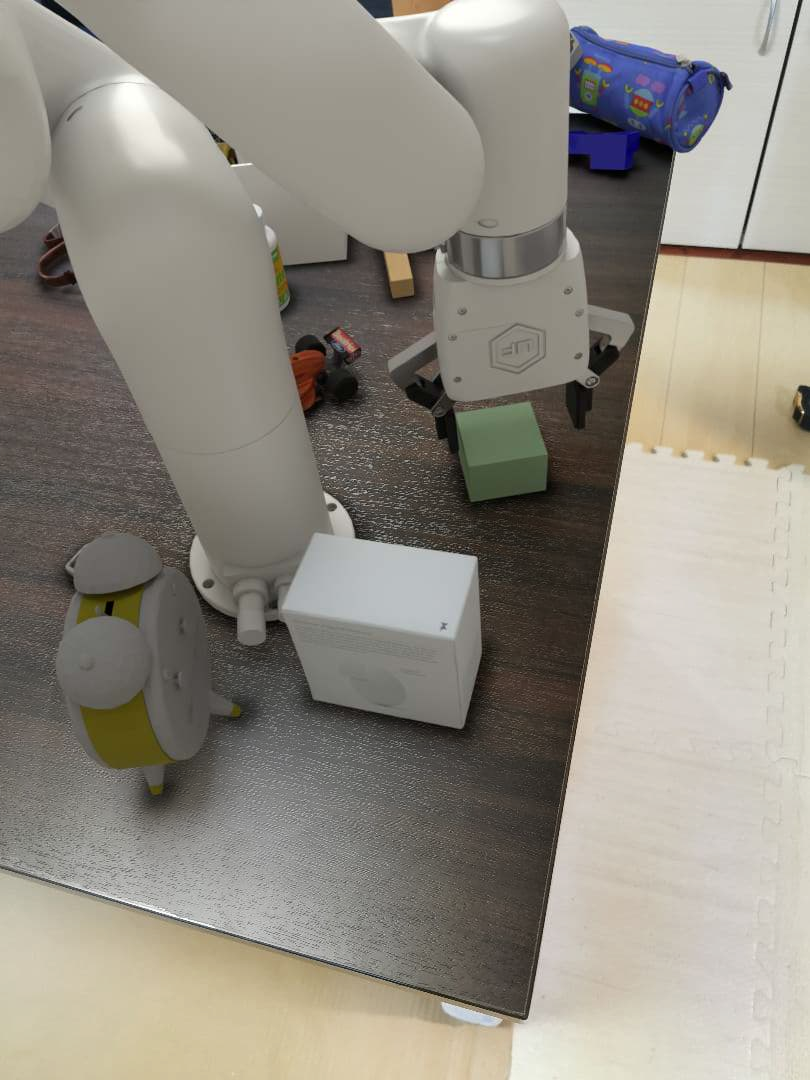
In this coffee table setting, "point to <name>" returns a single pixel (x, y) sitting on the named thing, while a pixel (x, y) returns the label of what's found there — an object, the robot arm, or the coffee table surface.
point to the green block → (501, 451)
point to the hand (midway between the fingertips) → (513, 428)
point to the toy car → (324, 367)
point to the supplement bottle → (276, 262)
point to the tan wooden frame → (399, 274)
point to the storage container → (291, 219)
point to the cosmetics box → (387, 627)
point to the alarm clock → (136, 660)
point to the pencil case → (646, 90)
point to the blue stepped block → (605, 148)
